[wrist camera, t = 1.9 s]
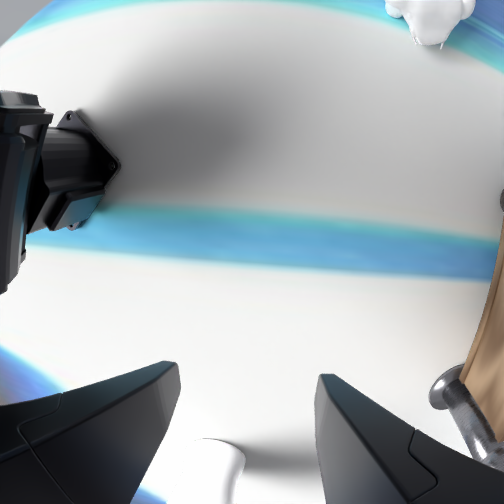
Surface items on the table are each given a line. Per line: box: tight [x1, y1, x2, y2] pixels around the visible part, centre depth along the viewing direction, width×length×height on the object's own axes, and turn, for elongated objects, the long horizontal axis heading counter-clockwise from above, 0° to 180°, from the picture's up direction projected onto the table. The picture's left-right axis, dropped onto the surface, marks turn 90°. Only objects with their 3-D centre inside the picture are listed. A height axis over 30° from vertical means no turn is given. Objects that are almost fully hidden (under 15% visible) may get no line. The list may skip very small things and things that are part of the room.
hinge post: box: [429, 365, 504, 472], centre depth 16 cm, size 5×5×11 cm
